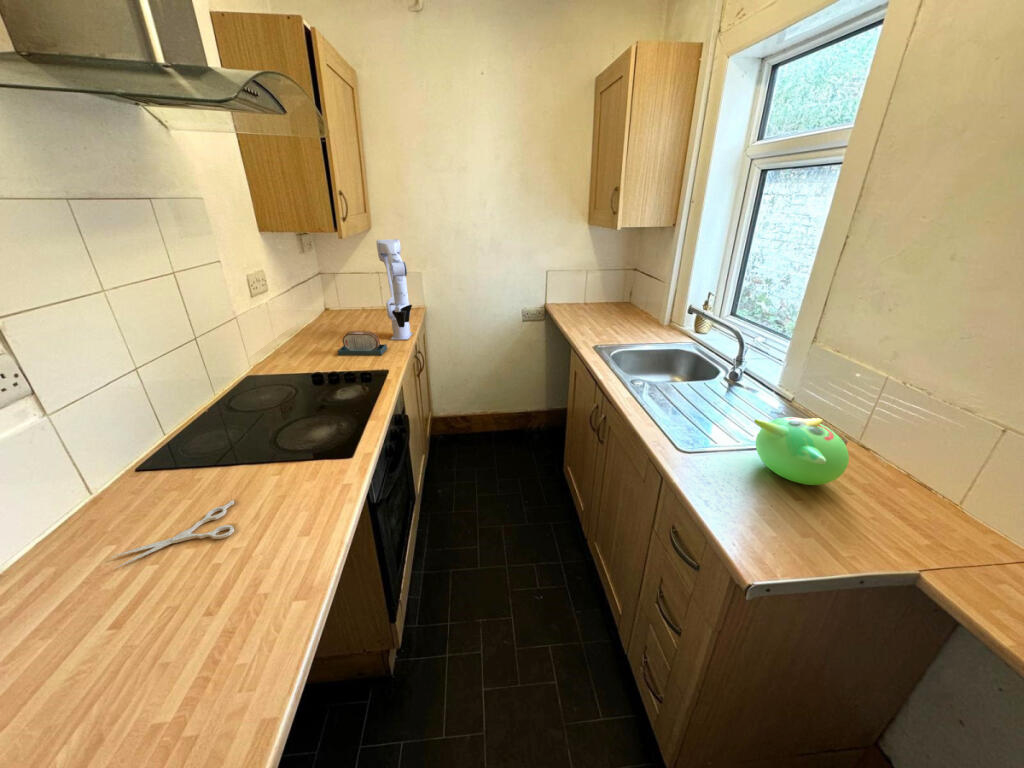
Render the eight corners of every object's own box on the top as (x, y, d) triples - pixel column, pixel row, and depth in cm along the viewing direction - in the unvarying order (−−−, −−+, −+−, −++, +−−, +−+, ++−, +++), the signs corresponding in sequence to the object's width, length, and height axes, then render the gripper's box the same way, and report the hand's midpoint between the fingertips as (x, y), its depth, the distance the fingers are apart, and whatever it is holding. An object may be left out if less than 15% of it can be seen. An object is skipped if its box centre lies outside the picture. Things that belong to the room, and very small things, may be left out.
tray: (346, 348, 180) (345, 344, 179) (387, 348, 179) (386, 344, 178) (338, 355, 172) (337, 350, 171) (381, 355, 172) (380, 351, 171)
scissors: (243, 527, 82) (107, 582, 70) (244, 530, 82) (109, 585, 71) (233, 499, 89) (109, 545, 78) (234, 502, 90) (110, 548, 78)
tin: (381, 350, 176) (378, 330, 173) (379, 352, 174) (376, 333, 170) (346, 349, 177) (342, 330, 173) (343, 352, 174) (339, 333, 170)
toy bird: (851, 484, 95) (874, 429, 89) (811, 510, 88) (833, 451, 82) (773, 447, 109) (788, 397, 103) (733, 465, 102) (747, 413, 96)
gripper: (395, 288, 177) (399, 319, 183) (385, 296, 164) (389, 329, 170) (412, 288, 177) (415, 319, 183) (403, 296, 164) (406, 329, 170)
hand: (404, 324), depth 176 cm, fingers open, 7 cm apart
